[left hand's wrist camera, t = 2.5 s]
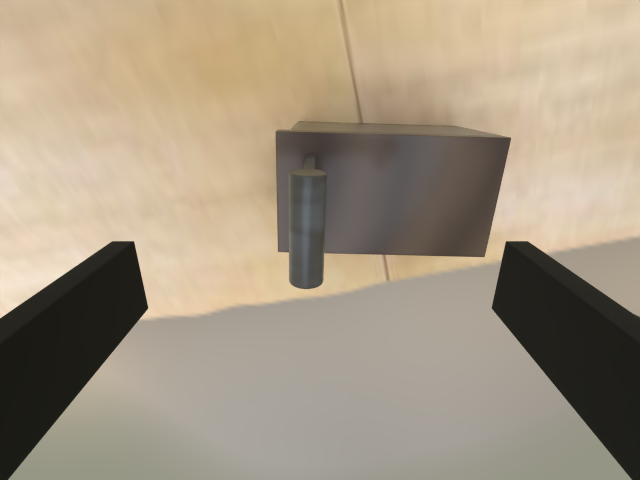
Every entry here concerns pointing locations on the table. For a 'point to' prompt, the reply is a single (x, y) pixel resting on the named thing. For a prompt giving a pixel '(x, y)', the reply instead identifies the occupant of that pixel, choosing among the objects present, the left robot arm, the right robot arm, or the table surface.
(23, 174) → the table surface
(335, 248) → the lid
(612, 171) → the table surface
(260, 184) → the table surface
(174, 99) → the table surface
